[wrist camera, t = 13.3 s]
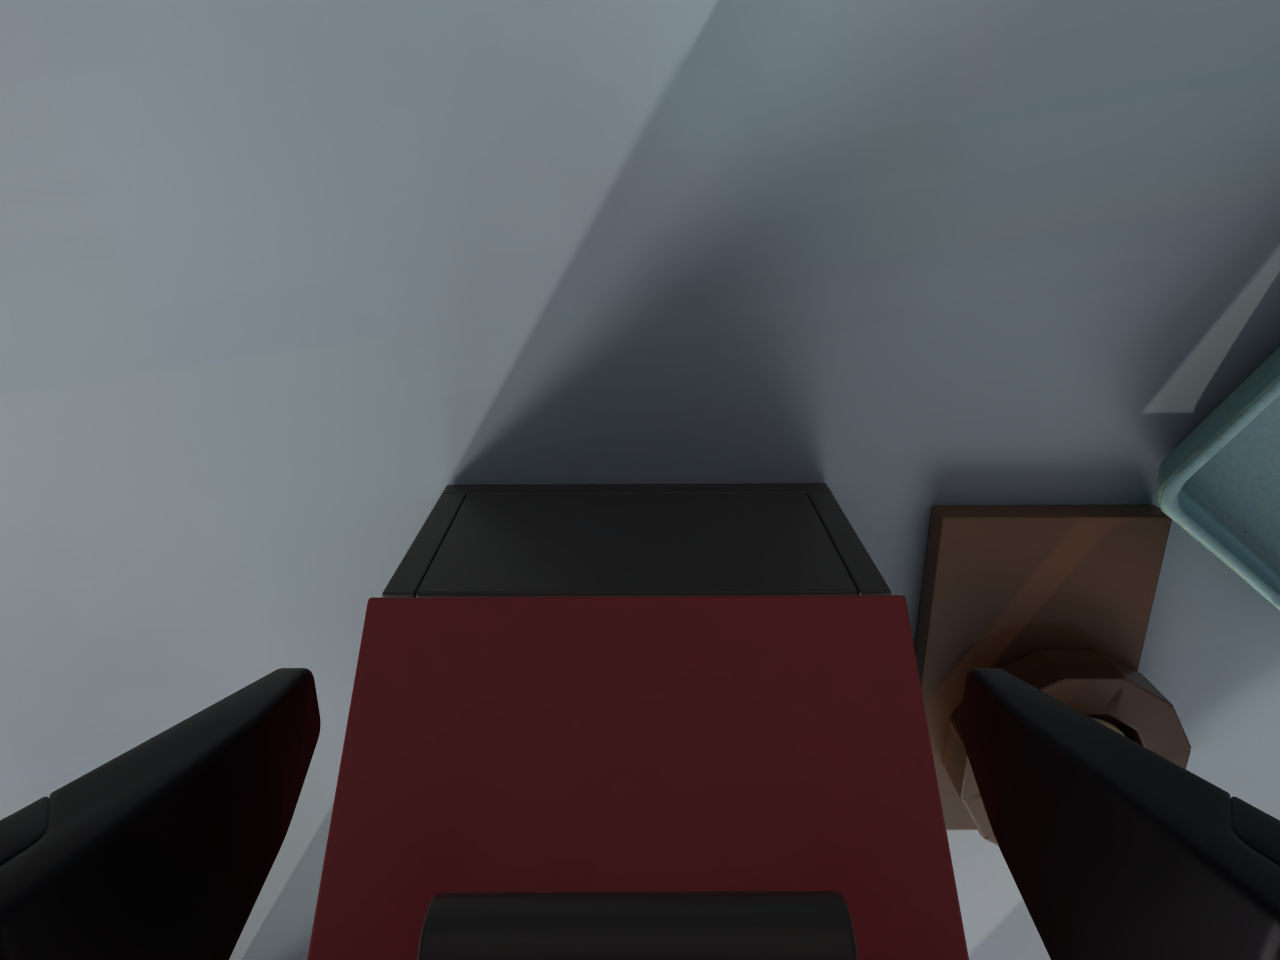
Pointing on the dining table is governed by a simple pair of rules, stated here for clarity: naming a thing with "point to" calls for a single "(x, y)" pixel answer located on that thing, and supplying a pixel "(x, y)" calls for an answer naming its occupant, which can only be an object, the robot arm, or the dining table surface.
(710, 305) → the dining table surface
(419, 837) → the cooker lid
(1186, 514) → the shallow long dish
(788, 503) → the black box
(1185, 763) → the release block
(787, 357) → the dining table surface
